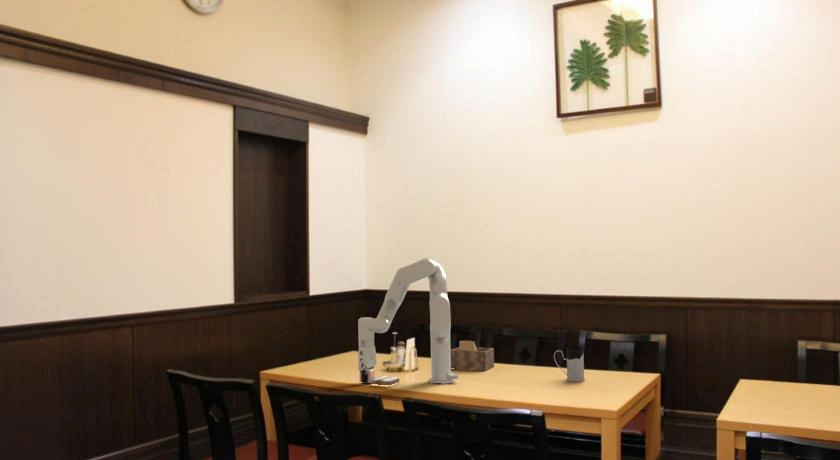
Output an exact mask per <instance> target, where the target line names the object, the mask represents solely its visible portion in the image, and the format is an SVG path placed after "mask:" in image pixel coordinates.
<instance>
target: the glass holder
mask: <svg viewBox="0 0 840 460" xmlns="http://www.w3.org/2000/svg"><path fill="white" fill-rule="evenodd" d="M558 352H560V353H561V354H562V358H563V360H565V361H566V371H565V370H564V369H563V368H562V367H560V365H558V362H557V361H556V353H558ZM564 355H565V354H564V353H563V351H562V350H556V351H555V352H554V354H553V359H554V362H555V364H556V366H557V367H558V368H559V369H560V370H561V371H562V372H564V374H566V381H568V382H584V381H586V378H585V363H584V359H585V357H584V348H583V347H580V346H568V347H566V358H564Z"/></svg>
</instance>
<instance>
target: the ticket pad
mask: <svg viewBox="0 0 840 460" xmlns="http://www.w3.org/2000/svg"><path fill="white" fill-rule="evenodd" d="M400 381H401V380H400V378H399V376H398V377H397V376H387V375H385V376H384V375H382V376H380V375H379V376H378V377H375V379H373V380H372V381H371V384H378V385H392V384H395V383H398V382H400ZM371 384H370V385H371Z"/></svg>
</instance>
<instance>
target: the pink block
mask: <svg viewBox="0 0 840 460" xmlns="http://www.w3.org/2000/svg"><path fill="white" fill-rule="evenodd" d="M364 370H365V369H364ZM375 370H376V369H375V368H374V369H367V374H368V383H371V381H372V380H373V379H376V374H375V373H376V371H375ZM360 382H362V381H361V372H360V371H359V383H360Z"/></svg>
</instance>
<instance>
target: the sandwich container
mask: <svg viewBox="0 0 840 460" xmlns="http://www.w3.org/2000/svg"><path fill="white" fill-rule="evenodd" d="M458 343H459V348H460V351H478V350H477V348H478V347H477V346H476V344H475V341H474V340H473V341H472V340H459V342H458ZM472 370H474V367H473V368H470V369H468V370H467V371H472Z"/></svg>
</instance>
